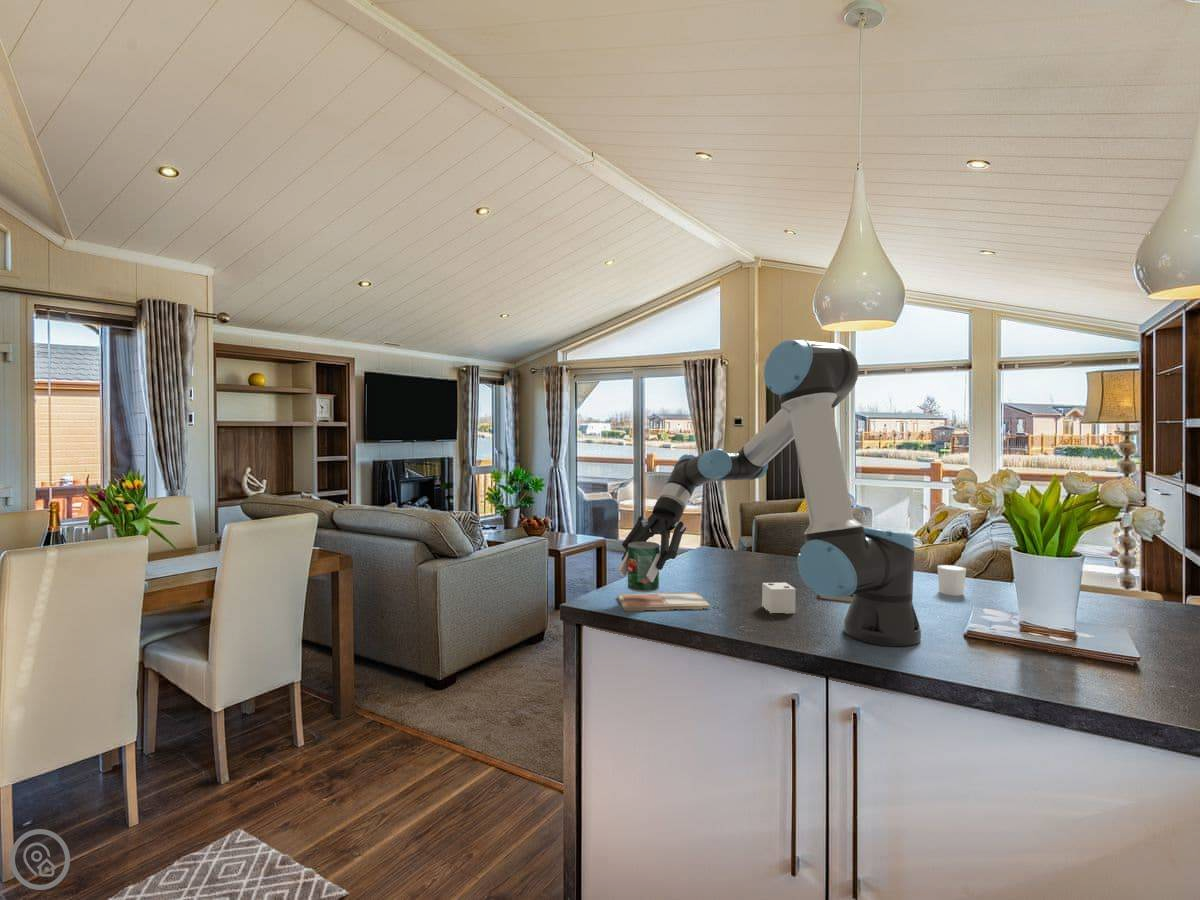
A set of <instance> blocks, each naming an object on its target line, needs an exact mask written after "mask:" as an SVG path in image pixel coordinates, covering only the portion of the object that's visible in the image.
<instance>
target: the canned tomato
mask: <svg viewBox="0 0 1200 900" xmlns="http://www.w3.org/2000/svg"><path fill="white" fill-rule="evenodd" d="M659 551H660V544H659V543H657V542H654V541H646V542H644V541H640V542H631V543H629V544H628V571H627V589H628V590H629V591H633V592H636V593H637V592H638V593H650V592H656V591H658V590H660V570H659V571H658V573H657V575H656V577H655V579H654V581H653V582H650V580H649V579H648V577H647V576H646V575H647V573H648V571H649V569H650V567H651V565H652V563H653V561H654V559H655V557H656V555H657V554H660V552H659Z"/></svg>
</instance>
